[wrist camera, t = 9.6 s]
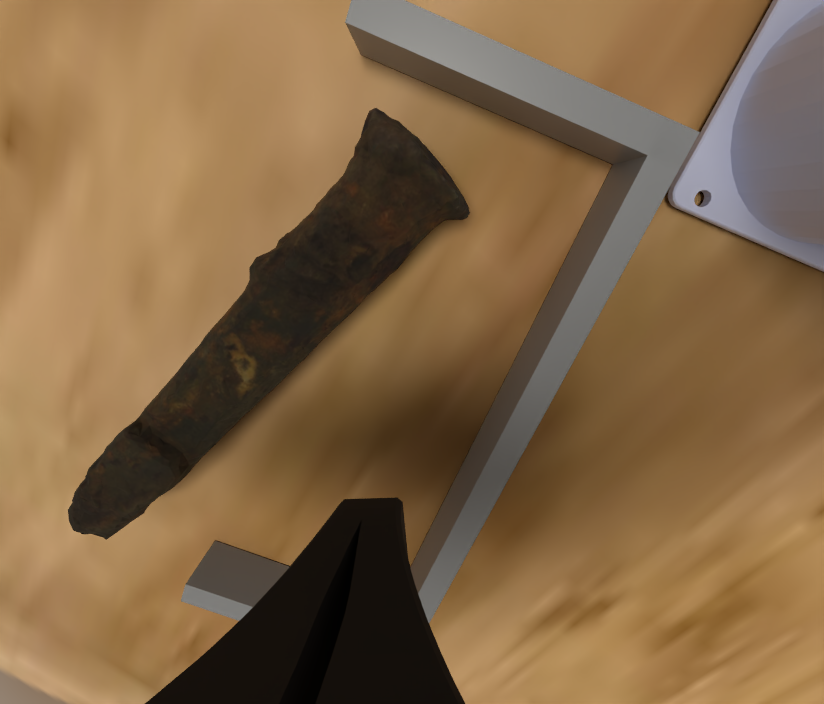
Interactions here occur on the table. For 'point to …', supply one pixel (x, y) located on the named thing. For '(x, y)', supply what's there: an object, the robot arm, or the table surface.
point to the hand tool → (276, 319)
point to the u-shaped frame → (567, 299)
